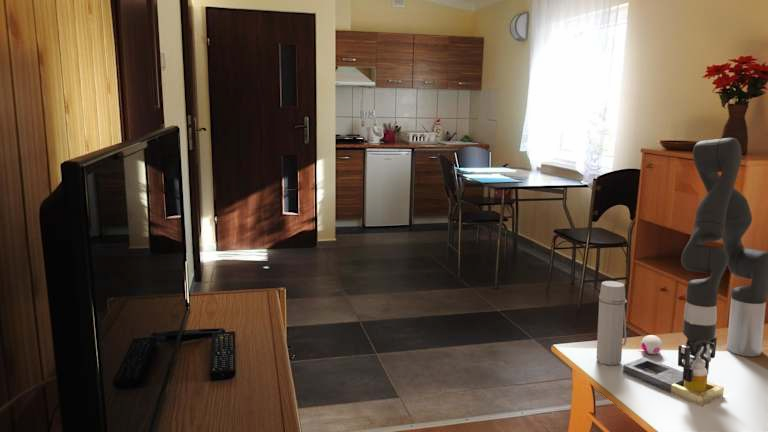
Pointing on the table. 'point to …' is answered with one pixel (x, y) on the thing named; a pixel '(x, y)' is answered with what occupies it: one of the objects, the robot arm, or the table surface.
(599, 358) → the water bottle
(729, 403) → the table surface
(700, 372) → the supplement bottle
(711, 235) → the robot arm
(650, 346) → the stress ball
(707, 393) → the rail
